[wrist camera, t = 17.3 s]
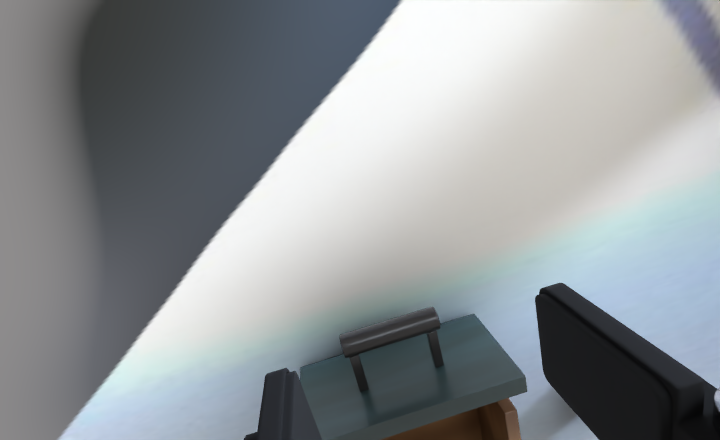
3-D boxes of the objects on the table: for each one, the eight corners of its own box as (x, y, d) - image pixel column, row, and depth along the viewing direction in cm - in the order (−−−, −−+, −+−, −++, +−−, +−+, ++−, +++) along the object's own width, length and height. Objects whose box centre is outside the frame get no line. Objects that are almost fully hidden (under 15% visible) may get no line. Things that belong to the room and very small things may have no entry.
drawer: (282, 320, 26) (275, 392, 19) (465, 264, 26) (517, 316, 20) (350, 502, 32) (362, 603, 25) (498, 452, 32) (546, 538, 26)
